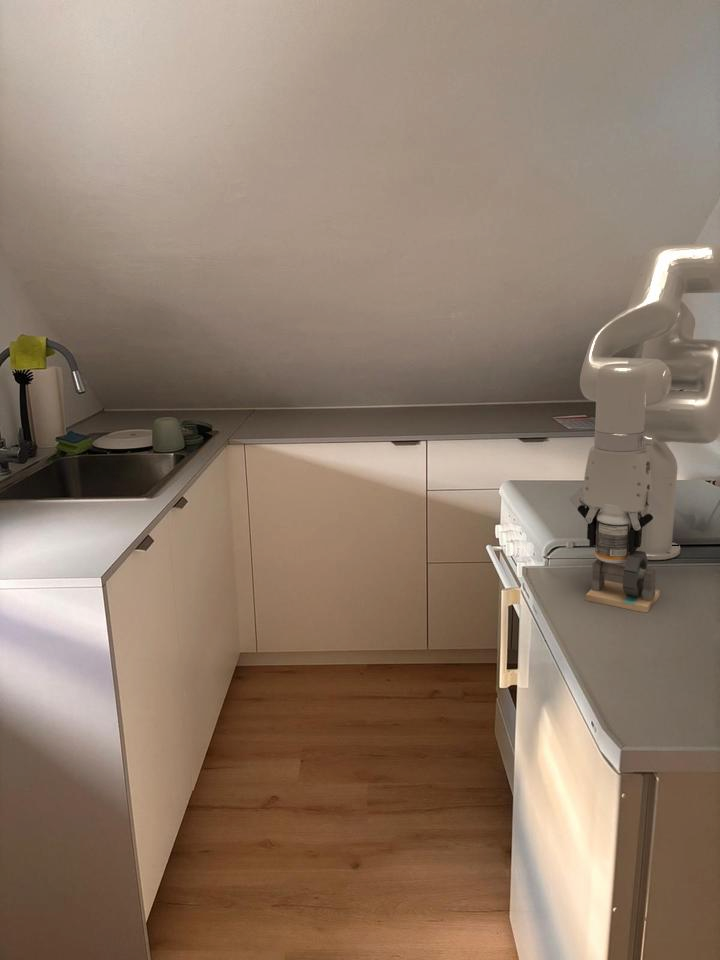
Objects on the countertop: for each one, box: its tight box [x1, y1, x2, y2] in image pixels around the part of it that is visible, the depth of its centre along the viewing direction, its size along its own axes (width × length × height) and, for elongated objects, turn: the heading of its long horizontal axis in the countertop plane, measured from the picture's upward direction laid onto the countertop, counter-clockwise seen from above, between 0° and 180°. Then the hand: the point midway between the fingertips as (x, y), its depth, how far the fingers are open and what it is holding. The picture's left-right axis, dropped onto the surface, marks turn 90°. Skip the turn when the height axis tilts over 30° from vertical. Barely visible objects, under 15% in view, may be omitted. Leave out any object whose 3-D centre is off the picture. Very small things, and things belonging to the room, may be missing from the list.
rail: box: [584, 558, 661, 614], centre depth 129 cm, size 8×10×6 cm
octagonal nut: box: [622, 551, 649, 597], centre depth 127 cm, size 7×2×7 cm, turn 146°
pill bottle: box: [594, 504, 632, 564], centre depth 128 cm, size 6×6×10 cm
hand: (613, 546), depth 128 cm, fingers closed on pill bottle, 5 cm apart
